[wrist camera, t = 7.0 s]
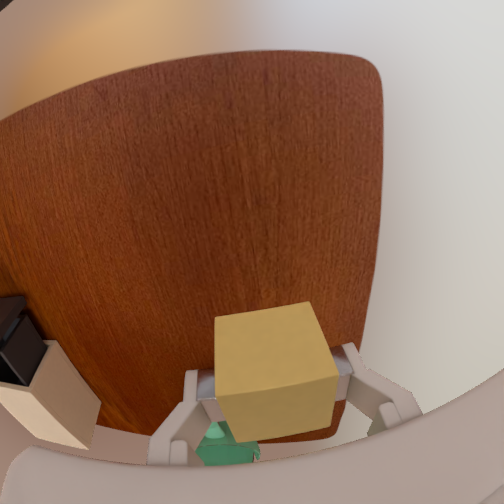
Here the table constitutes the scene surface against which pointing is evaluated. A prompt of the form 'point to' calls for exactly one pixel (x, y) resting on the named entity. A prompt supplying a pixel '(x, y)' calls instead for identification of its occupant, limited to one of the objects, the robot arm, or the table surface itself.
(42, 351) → the drawer
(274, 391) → the block
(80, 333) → the table surface
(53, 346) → the beige cabinet housing
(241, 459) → the mug
